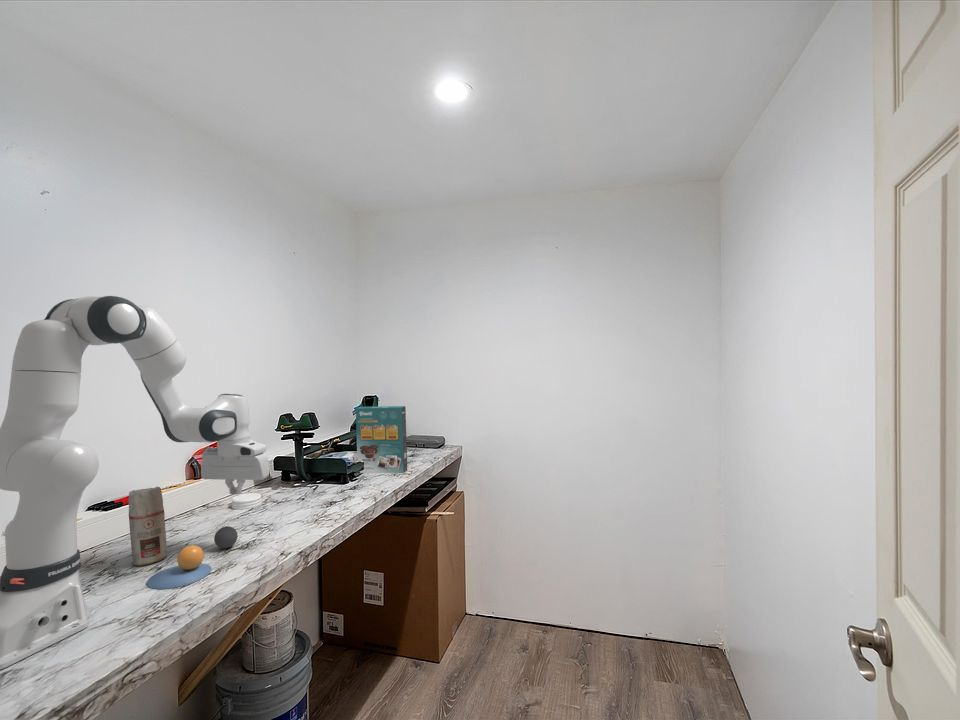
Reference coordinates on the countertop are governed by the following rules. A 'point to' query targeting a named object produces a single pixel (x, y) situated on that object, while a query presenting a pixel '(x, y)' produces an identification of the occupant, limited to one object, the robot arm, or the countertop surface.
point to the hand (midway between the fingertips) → (235, 493)
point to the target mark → (177, 577)
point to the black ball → (225, 537)
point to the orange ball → (190, 557)
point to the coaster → (246, 501)
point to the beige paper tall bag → (147, 526)
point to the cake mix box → (382, 439)
